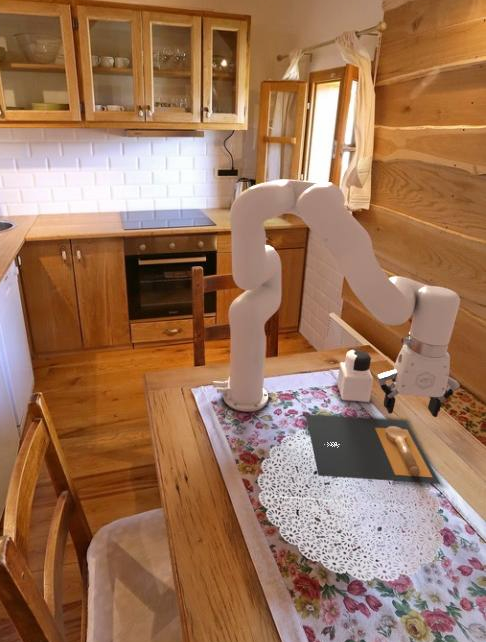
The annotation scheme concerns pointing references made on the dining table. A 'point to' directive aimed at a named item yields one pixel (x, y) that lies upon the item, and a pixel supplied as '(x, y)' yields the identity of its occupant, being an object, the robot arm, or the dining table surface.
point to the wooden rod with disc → (403, 448)
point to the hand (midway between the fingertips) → (410, 411)
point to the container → (355, 377)
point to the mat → (364, 449)
